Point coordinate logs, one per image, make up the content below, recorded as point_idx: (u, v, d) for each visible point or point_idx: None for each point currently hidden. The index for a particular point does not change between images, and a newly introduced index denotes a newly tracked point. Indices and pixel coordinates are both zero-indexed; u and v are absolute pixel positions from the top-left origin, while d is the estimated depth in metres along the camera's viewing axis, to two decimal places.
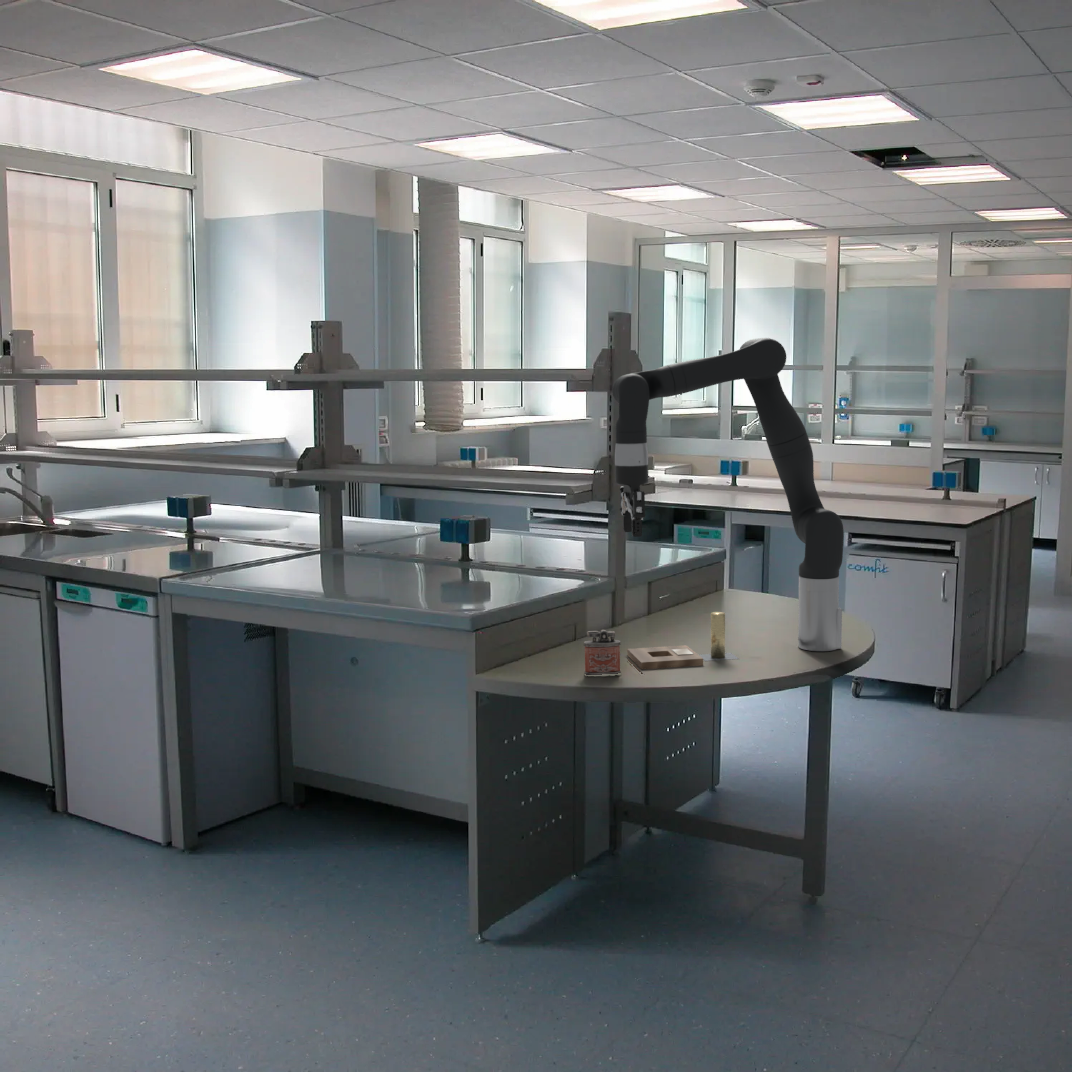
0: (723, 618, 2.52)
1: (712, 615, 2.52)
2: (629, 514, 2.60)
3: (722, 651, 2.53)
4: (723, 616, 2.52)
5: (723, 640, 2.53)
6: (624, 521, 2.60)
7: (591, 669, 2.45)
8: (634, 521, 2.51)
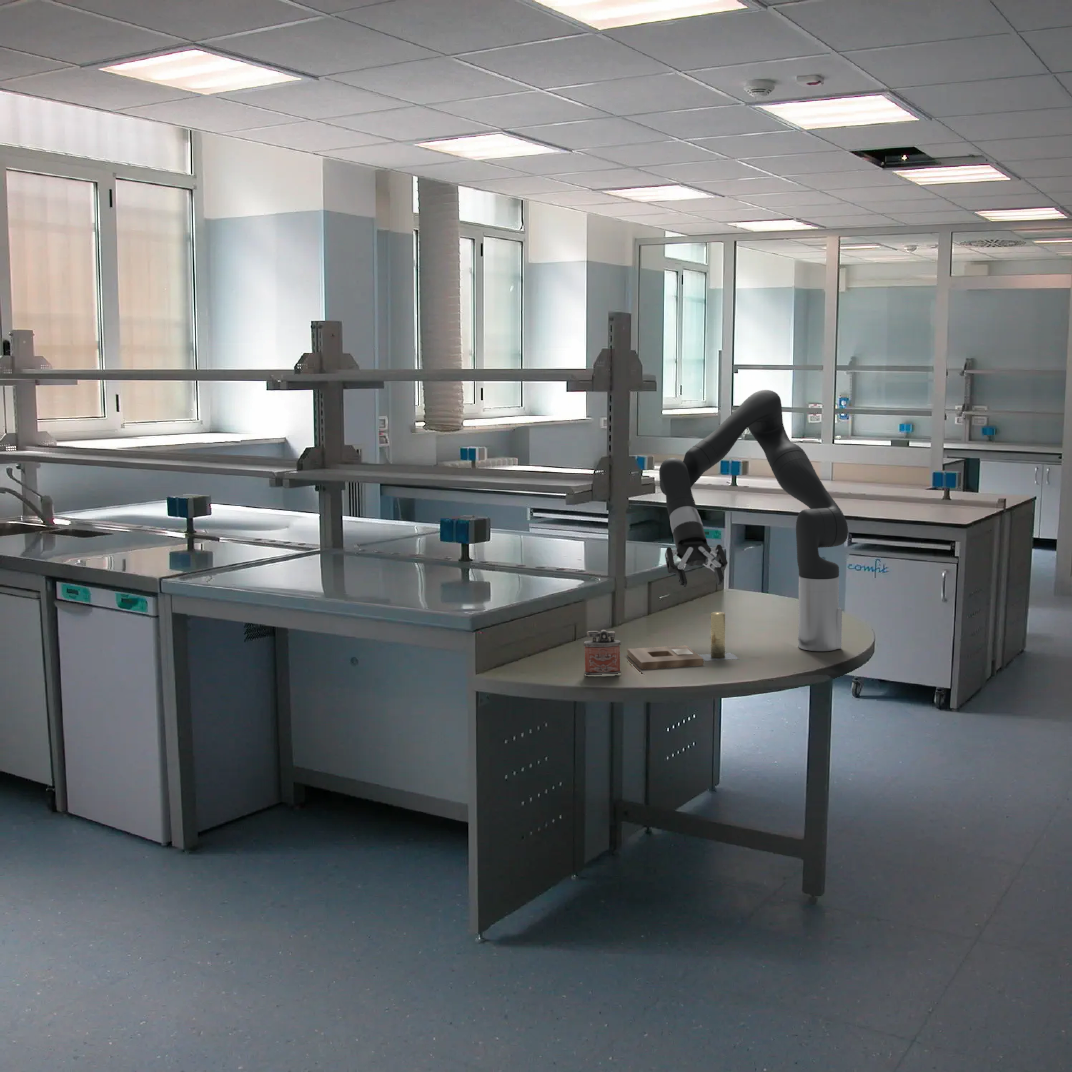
0: (723, 618, 2.52)
1: (712, 615, 2.52)
2: None
3: (722, 651, 2.53)
4: (723, 616, 2.52)
5: (723, 640, 2.53)
6: (684, 574, 2.64)
7: (591, 669, 2.45)
8: (719, 569, 2.66)
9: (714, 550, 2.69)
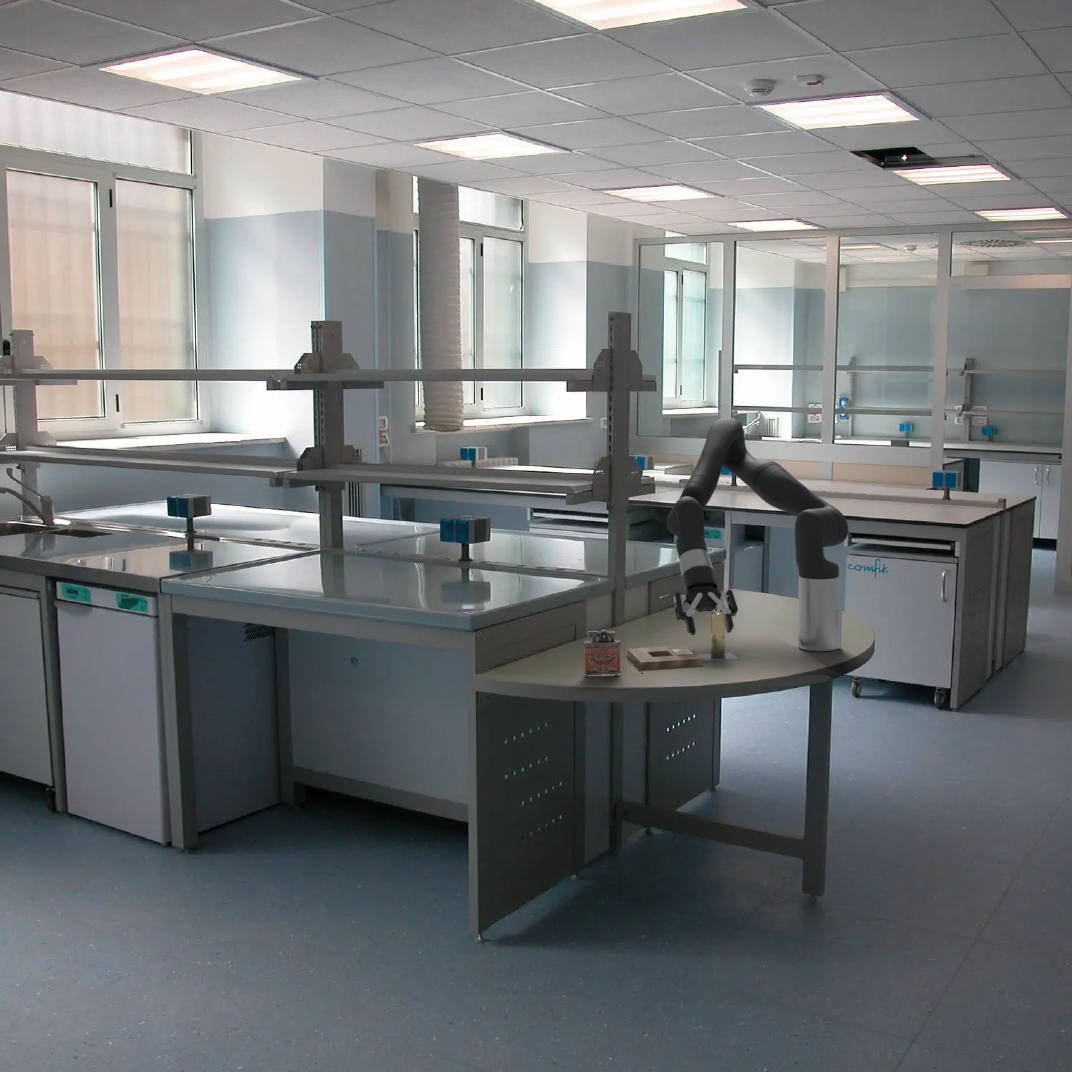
0: (723, 618, 2.52)
1: (712, 615, 2.52)
2: None
3: (722, 651, 2.53)
4: (723, 616, 2.52)
5: (723, 640, 2.53)
6: None
7: (591, 669, 2.45)
8: (729, 616, 2.58)
9: (724, 595, 2.62)
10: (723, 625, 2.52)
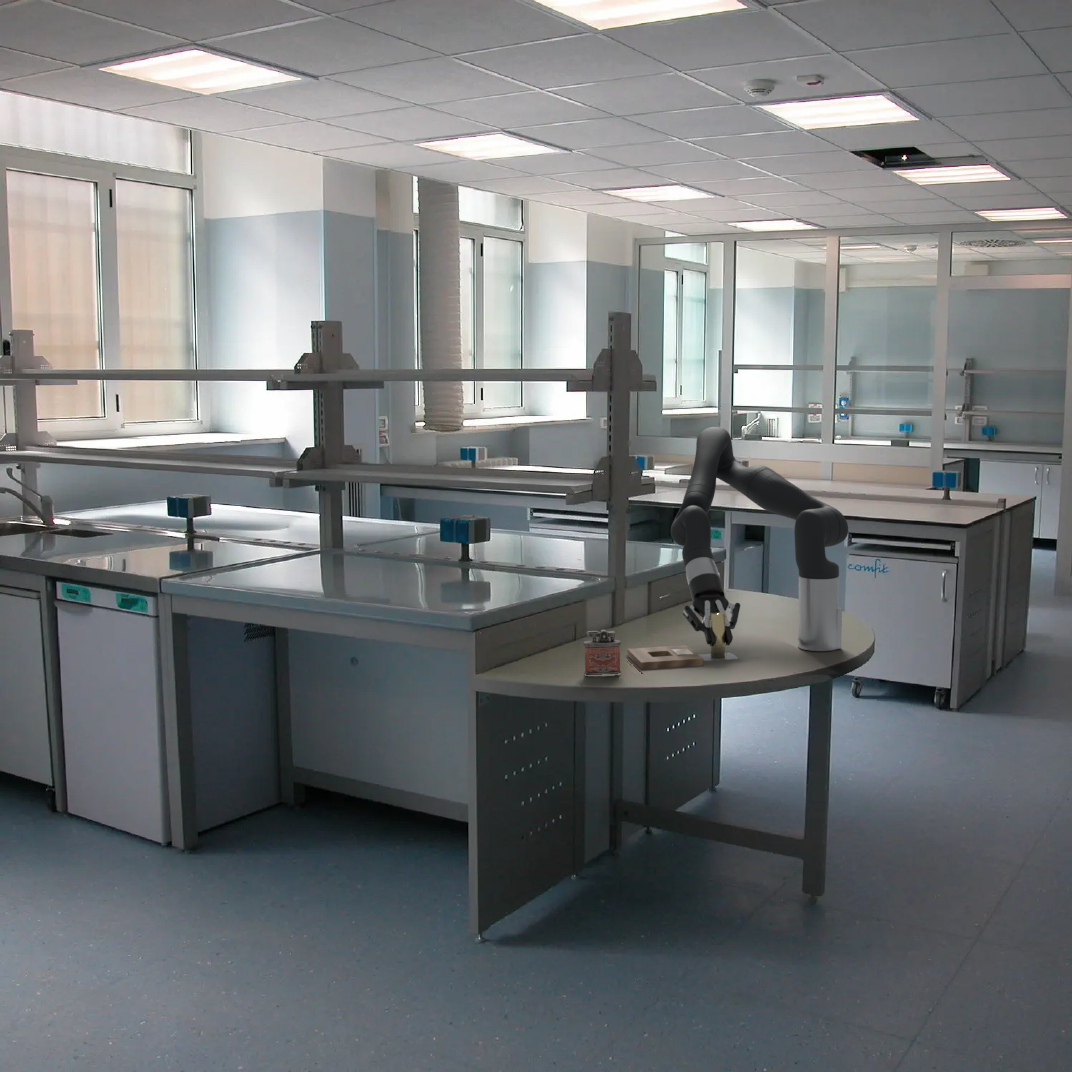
0: (723, 618, 2.52)
1: (712, 615, 2.52)
2: None
3: (722, 651, 2.53)
4: (723, 616, 2.52)
5: (723, 640, 2.53)
6: (712, 632, 2.52)
7: (591, 669, 2.45)
8: (728, 628, 2.54)
9: (731, 606, 2.58)
10: (723, 625, 2.52)
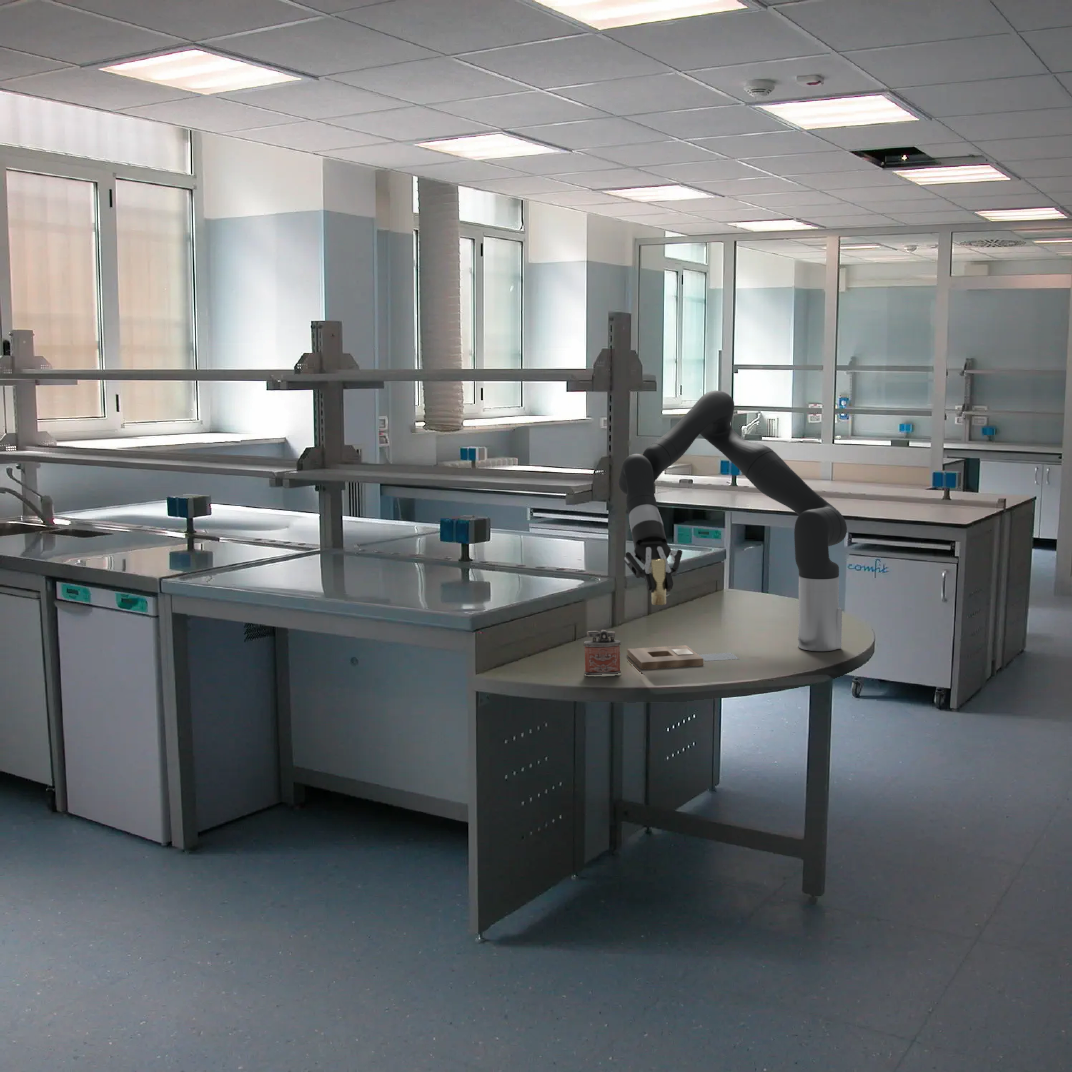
0: (663, 564, 2.49)
1: (652, 561, 2.49)
2: None
3: (662, 597, 2.49)
4: (663, 562, 2.49)
5: (663, 586, 2.49)
6: (652, 579, 2.49)
7: (591, 669, 2.45)
8: (669, 574, 2.50)
9: (673, 553, 2.55)
10: (663, 571, 2.49)
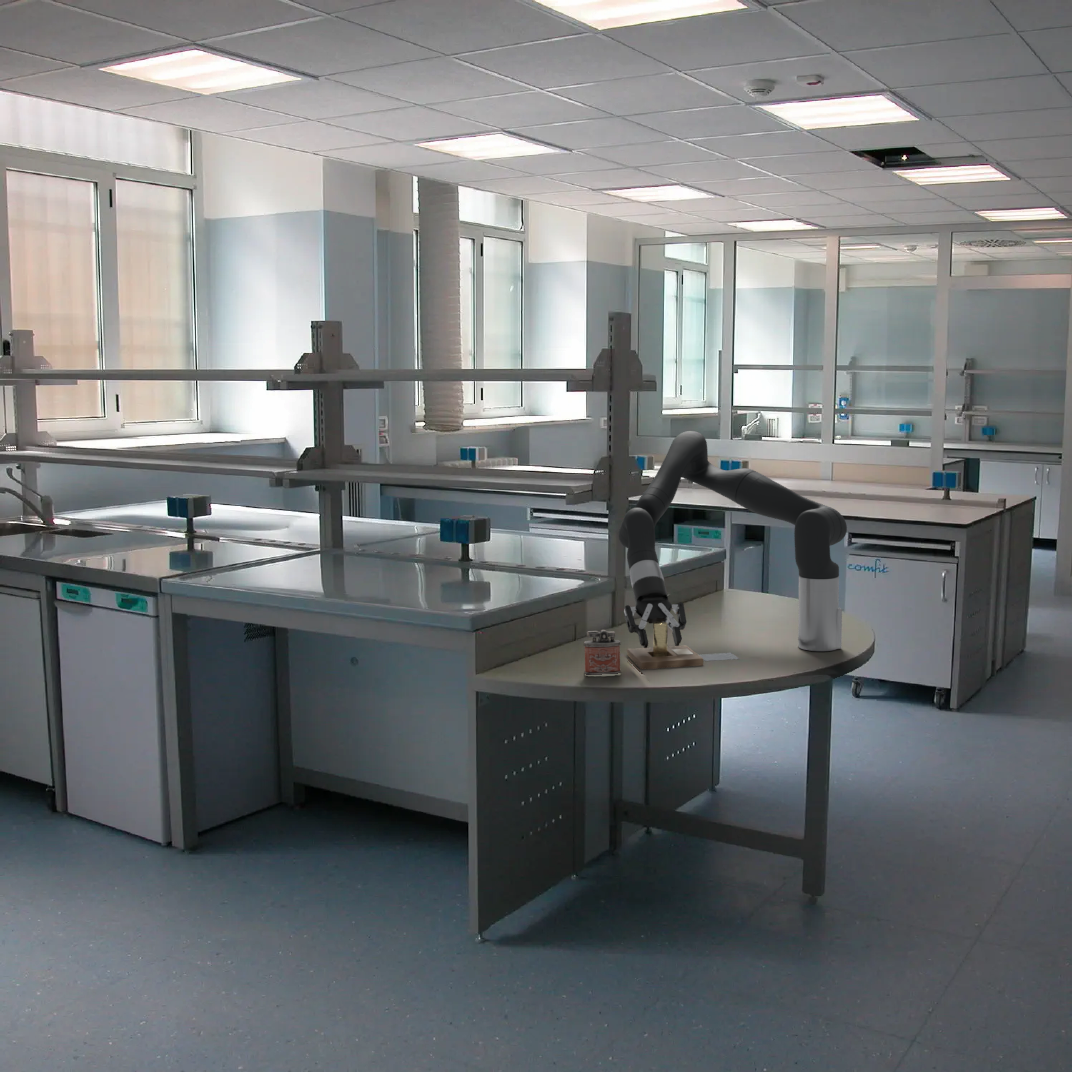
0: (665, 628, 2.50)
1: (654, 625, 2.50)
2: None
3: None
4: (665, 626, 2.50)
5: (665, 650, 2.51)
6: None
7: (591, 669, 2.45)
8: (678, 629, 2.52)
9: (675, 607, 2.56)
10: (665, 635, 2.50)
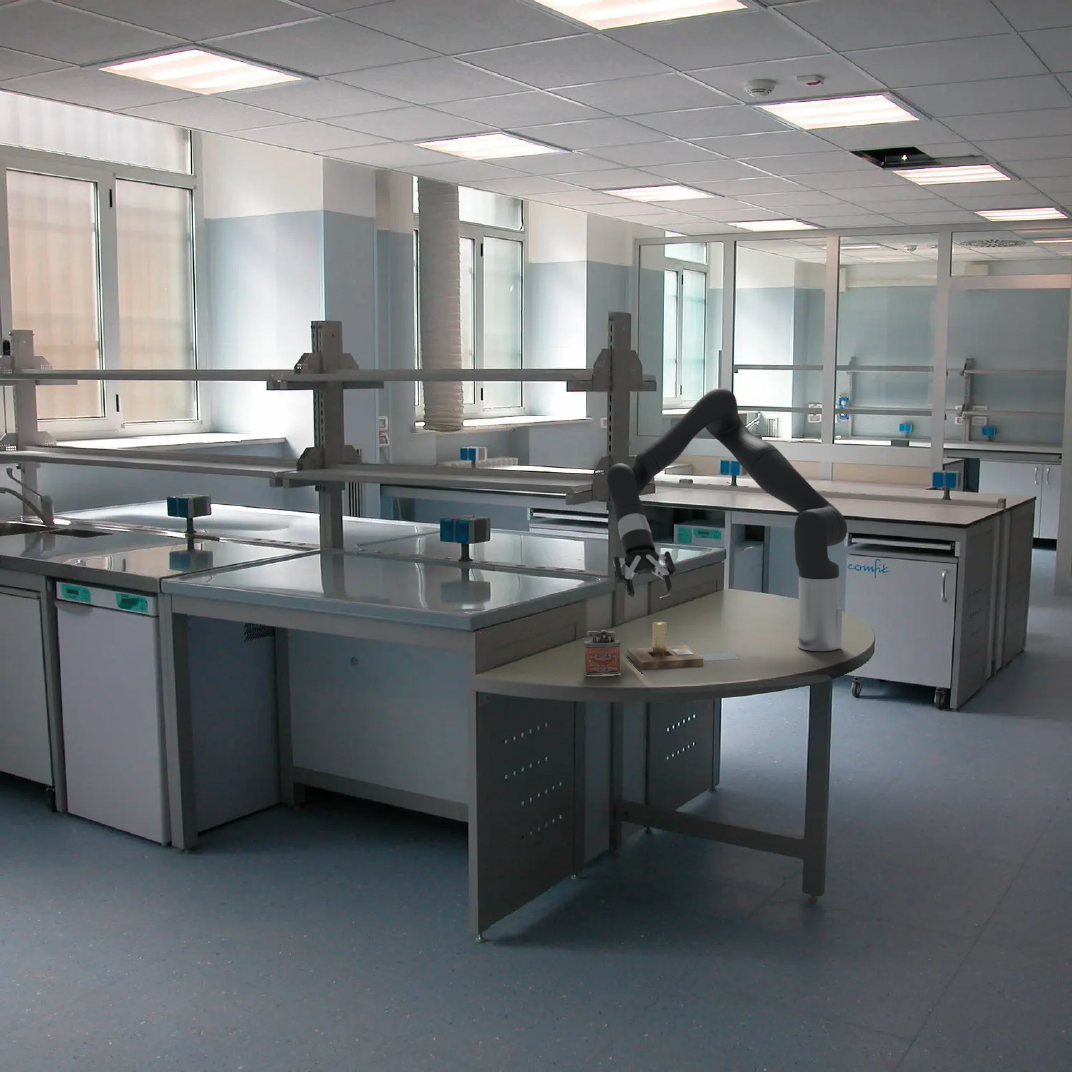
0: (664, 628, 2.50)
1: (653, 625, 2.50)
2: None
3: None
4: (664, 626, 2.50)
5: (665, 650, 2.51)
6: (632, 584, 2.63)
7: (591, 669, 2.45)
8: (667, 577, 2.65)
9: (662, 557, 2.68)
10: (664, 635, 2.50)
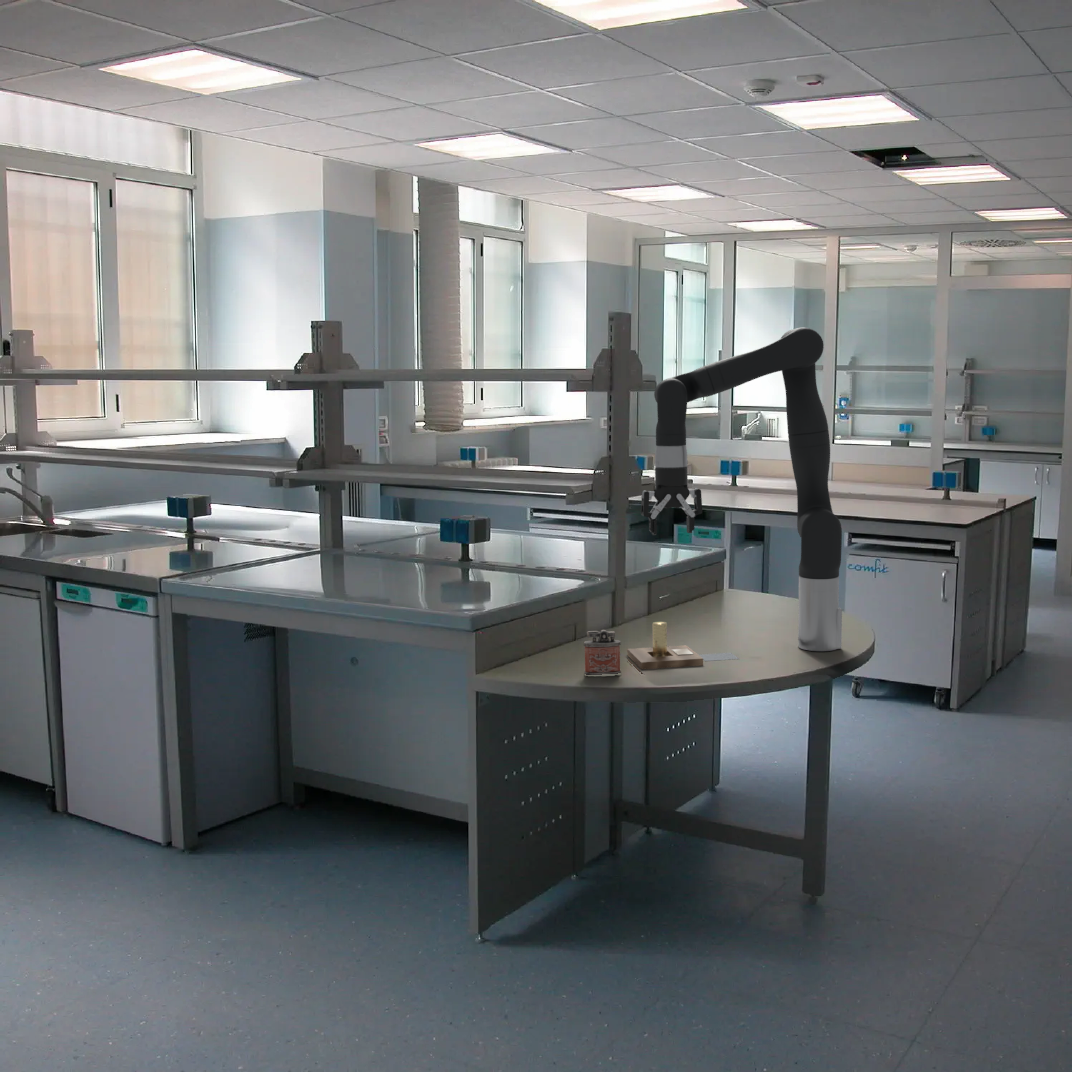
0: (664, 628, 2.50)
1: (653, 625, 2.50)
2: None
3: None
4: (664, 626, 2.50)
5: (665, 650, 2.51)
6: None
7: (591, 669, 2.45)
8: (693, 518, 2.63)
9: (692, 493, 2.63)
10: (664, 635, 2.50)
